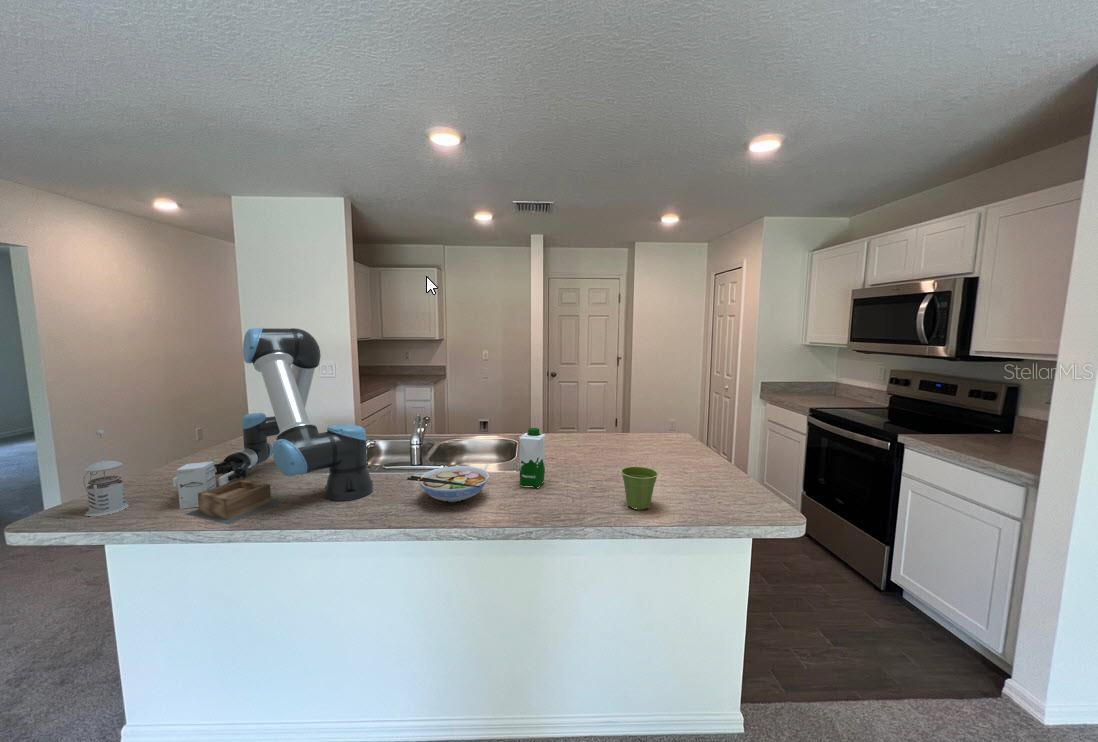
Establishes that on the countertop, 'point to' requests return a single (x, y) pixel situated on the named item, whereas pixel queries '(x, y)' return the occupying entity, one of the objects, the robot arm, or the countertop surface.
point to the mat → (226, 521)
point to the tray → (234, 499)
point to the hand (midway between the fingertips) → (197, 482)
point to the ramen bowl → (453, 482)
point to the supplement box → (194, 482)
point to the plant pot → (639, 485)
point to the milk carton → (532, 458)
